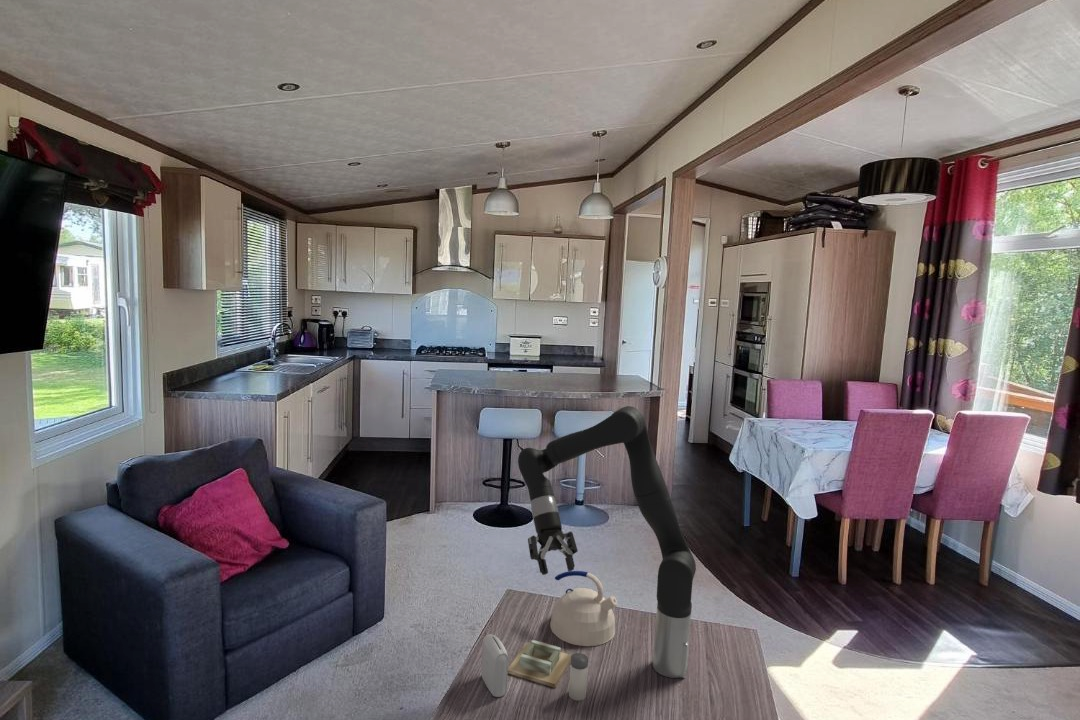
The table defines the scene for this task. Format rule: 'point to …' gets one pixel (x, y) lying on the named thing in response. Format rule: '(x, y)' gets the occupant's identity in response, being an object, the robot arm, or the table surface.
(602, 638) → the kettle
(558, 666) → the holder
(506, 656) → the photo printer
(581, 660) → the grey and white cylinder
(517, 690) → the table surface
